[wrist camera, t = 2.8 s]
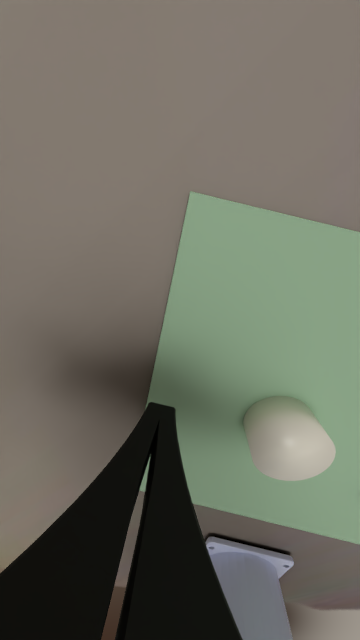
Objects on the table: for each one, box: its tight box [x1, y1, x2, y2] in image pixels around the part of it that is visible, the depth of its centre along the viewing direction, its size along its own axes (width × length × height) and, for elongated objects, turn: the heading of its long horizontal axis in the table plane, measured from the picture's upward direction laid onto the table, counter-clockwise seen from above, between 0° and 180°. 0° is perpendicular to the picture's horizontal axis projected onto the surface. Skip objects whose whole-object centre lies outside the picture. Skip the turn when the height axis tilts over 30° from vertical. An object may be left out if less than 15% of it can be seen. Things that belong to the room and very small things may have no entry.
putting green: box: [140, 191, 360, 544], centre depth 12 cm, size 21×26×1 cm
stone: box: [243, 396, 336, 481], centre depth 11 cm, size 4×4×2 cm
